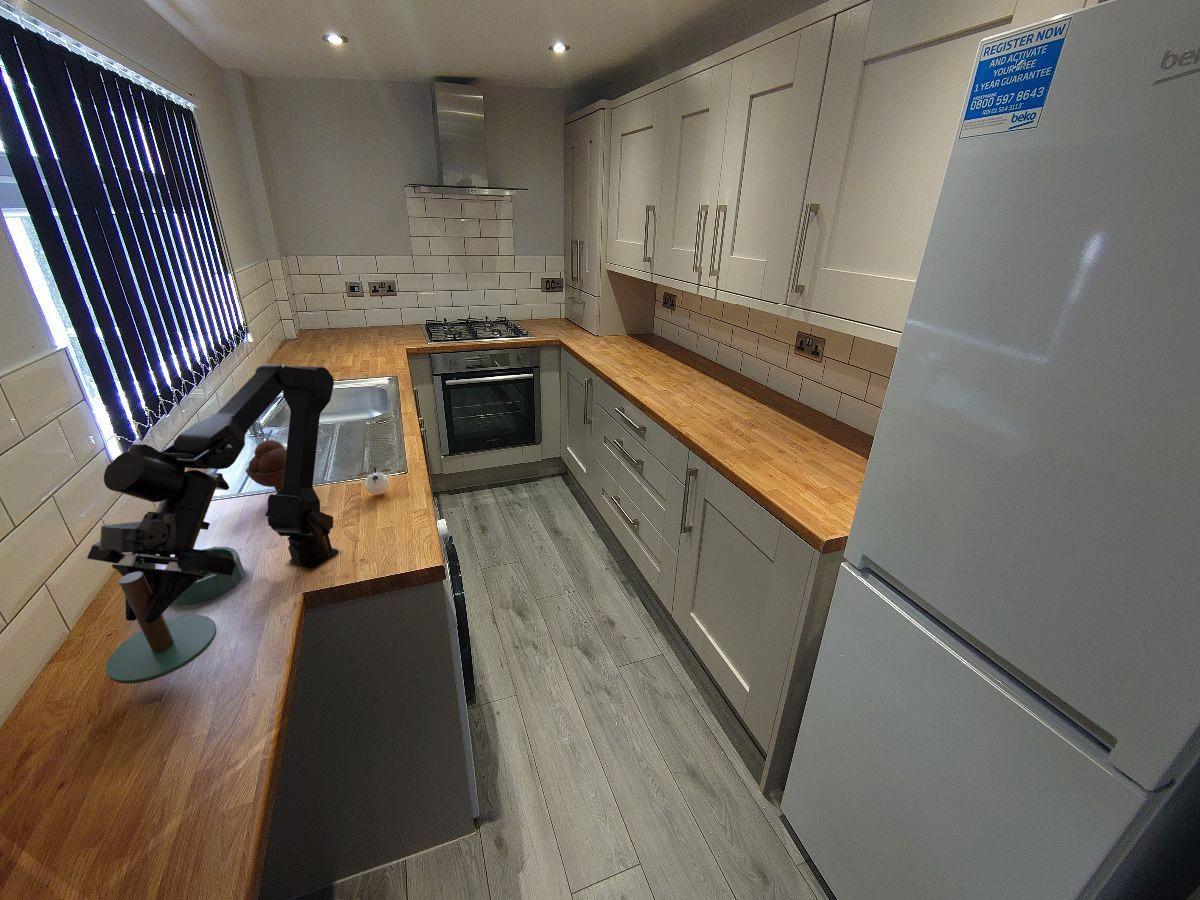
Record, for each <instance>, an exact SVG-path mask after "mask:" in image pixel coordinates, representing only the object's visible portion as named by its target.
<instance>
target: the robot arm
mask: <svg viewBox="0 0 1200 900" xmlns="http://www.w3.org/2000/svg"><path fill="white" fill-rule="evenodd" d="M334 385H335V379H334V376H333V375H332V374H331V373H330V371H329V370H328V369H327V368H326V367H324V366H304V365H303V366H300V365H293V366H289V365H287V364H281V363H279V364H278V363H276V364H275V363H264V364H262V365H259V366H257V368H256V369H255V372H254V374H253V375H252V376H251V377H250V378H249V379H248V380H247V381H246V382H245V383H244V384H243V385H242V386H241V387H240V389H239V390H237V392H236V393H235V394H233V395H232V397H231V398H230V399H228V401H227V402H226V403H225V404H223V406H222V407H221V408H220V409H218V411H217V412H216V413H215V414H213V415H212V416H210V417H208V418H204V419H203V420H200V421H198V422H196V423H194V424H193V425H191V426H190V427H187V428H186V429H185V430H184V431H182V432H181V433H180V434H178V435H177V436H176V438H175V439H174V442H173V443H171V444H170V445H168V446H166V447H165V448H162V449H161V450H160V451H159V450H157V449H156V448H154V447H153V446H152V445H151V446H150V445H148V444H145V443H131V444H130V447H129V449H128V451H125V452H123V453H120V455H118V456H116V457H115V458H114V459H113V460H112V462H110V463H109V464H108V465H107V466H106V468H105V471H104V473H103V484H104V485H105V487H106V488H107V489H108V490H110V491H113V492H116V493H120V494H122V495H123V494H124V495H126V496H130V497H134V498H138V499H140V500H143V501H147V502H151V503H159V504H158V506H157V509H156V511H147V512H146V513H145V514H144V515H143V517H142V520H141V521H135V522H133V521H131V522H121V523H114V524H105V525H101V526H100V538H99V541H98V542H96V543H93V544H92V546H91V548H90V550H89V552H88V555H87V557H86V559H87V560H92V561H98V562H105V563H111V567H112V569H114V570H116V571H118V573H119V574H120V575H121V577H123V576H125V575H127V574H129V573H132V572H138V571H140V572H143V573H144V576H145V578H146V580H147V582H148V584H149V586H150V589H151V591H152V595H151V598H150V601H149V604H148V607H147V610H146V614H145V618H144V622H145V623H153V622H154V621H155V620H156V619H157V618H158V617H159V616H160V615H161V614H162V615H163V613H164V612H165V611H166V610H167V609H168V608H169V607H170V606H171V605H172V604H174V603H173V602H174V601H175V600H176V599H177V598H178V597H179V596H180V595H181V594H182V593H183V592H185V591H186V590H187V589H188V588H189V587H190V586H191V585H193V584H194V583H195V582H196V581H197V580H200V579H203V578H205V576H202V575H200V574H201V571H205V572H210V573H211V574H212V575H213V574H217V575H227V576H232V573H233V570H234V568H235V565H236V563H235V560H234V557H233V556H231V555H226V554H222V553H217V552H212V551H207V550H203V549H197V548H194V547H195V545H196V542H197V539H198V537H199V535H200V532H201V530H207V531H208V530H209V527H210V525H211V523H210V522H207V521H205V519H206V515H207V513H208V510H209V508H210V505H211V503H212V499H213V497H214V494H215V492H216V490H218V491H228V490H229V489H230V485H229V484H228V482H227V481H226V479H225V478H224V476H223V473H222V472H209V473H206V472H203V471H202V470H207V469H208V470H209V469H211V470H224V469H225V470H226V469H228V468H230V467H231V466H232V465H234V463H235V462H236V460H237V459H238V457H239V456H240V454H241V453H242V451H243V449H244V448H245V446H246V434H247V433H248V431H249V430H250V428H251V427H252V426H253V425H254V424H255V423H256V422H257V420H258V419H259V418H260V417H261V416H262V415H263V414H264V412H266V410H267V409H268V408H269V407H270V406H271V404H272V403H273V402H274V401H275V400H276V399H277V398H278V397H279V396H280V394H281V393H282V397H283V399H284V400H285V403H286V404H287V407H288V409H289V413H290V414H289V423H288V431H287V433H288V434H287V440H286V442H287V443H286V459H285V469H284V478H283V485H282V487H281V488H280V490H279V491H278V492H276V493H275V494H274V493H273V494H269V495H268V497H267V508H266V513H265V517H267V524H268V526H269V527H270V528H271V530H273V531H274V532H276V533H277V535H278V536H279V537H287V541H288V546H287V548H288V551H289V555H290V559H289V561H288V562H289V563H290V564H292V565H294V566H298V567H301V568H306V569H308V570H314V569H316V568H317V567H319V566H320V565H322V564H323V563H325V562H326V561H328V560H329V559H331V558H332V557H333V556H336V555H337V554H338V553H339V550H338V549H337V548H333V547H332V543H331V540H330V536H329V535H330V533H331V530H332V529H333V528H334V516H332V515H330V514H326V513H324V512H321V500H320V498H319V497H318V495H317V493H316V491H315V489H314V486H313V485H314V478H315V477H314V476H315V468H316V456H317V446H318V436H319V428H320V420H321V419H320V418H321V414H322V412H323V411H324V409H325V408H326V407H327V406H328V404H329V403H330V402H331V400H332V394H333V390H334V387H335V386H334ZM186 469H191V470H187V471H185V470H186ZM197 469H198V470H197ZM200 469H201V470H200ZM171 555H172V556H171ZM157 565H163V566H165V568H164V569H165V570H164V569H162V568H156V567H157ZM125 621H130V622H133V621H137V619H136V617H135V615H134V613H133V611H132V608H131V606H130V604H129V602H128V600H127V598H126V597H125Z"/></svg>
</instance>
